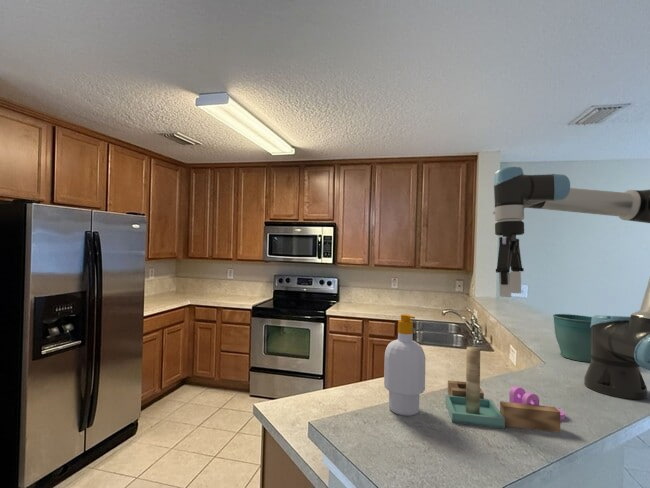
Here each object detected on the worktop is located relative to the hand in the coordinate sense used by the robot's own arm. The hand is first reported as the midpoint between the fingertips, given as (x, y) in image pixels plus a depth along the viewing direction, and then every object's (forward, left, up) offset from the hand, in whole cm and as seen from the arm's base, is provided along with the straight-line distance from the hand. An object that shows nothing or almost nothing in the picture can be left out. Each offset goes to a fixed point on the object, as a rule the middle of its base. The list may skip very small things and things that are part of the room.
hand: (511, 295), depth 101 cm
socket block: (+13, +4, -29) cm, 32 cm away
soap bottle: (+30, +16, -30) cm, 45 cm away
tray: (+13, +14, -29) cm, 35 cm away
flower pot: (-43, -56, -30) cm, 76 cm away
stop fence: (+1, +17, -29) cm, 34 cm away
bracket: (-4, +11, -30) cm, 32 cm away
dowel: (+13, +14, -29) cm, 35 cm away
